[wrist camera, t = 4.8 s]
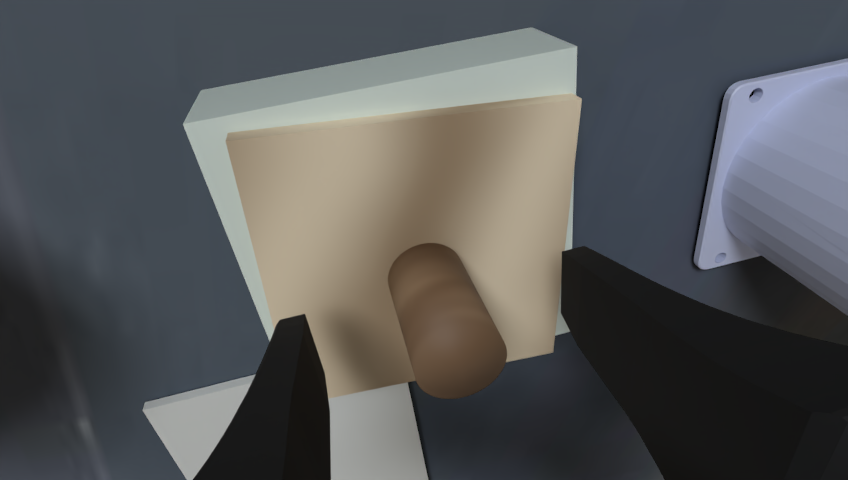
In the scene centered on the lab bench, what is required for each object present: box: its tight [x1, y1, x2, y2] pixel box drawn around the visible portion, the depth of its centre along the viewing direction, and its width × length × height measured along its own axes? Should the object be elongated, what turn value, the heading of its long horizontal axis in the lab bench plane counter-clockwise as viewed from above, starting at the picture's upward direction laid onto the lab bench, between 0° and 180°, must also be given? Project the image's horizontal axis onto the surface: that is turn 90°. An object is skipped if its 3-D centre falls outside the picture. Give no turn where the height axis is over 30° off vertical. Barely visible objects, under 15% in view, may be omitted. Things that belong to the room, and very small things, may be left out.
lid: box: [226, 93, 582, 399], centre depth 14 cm, size 9×9×5 cm
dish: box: [183, 27, 577, 341], centre depth 17 cm, size 10×10×3 cm
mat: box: [143, 374, 428, 480], centre depth 23 cm, size 10×10×1 cm
